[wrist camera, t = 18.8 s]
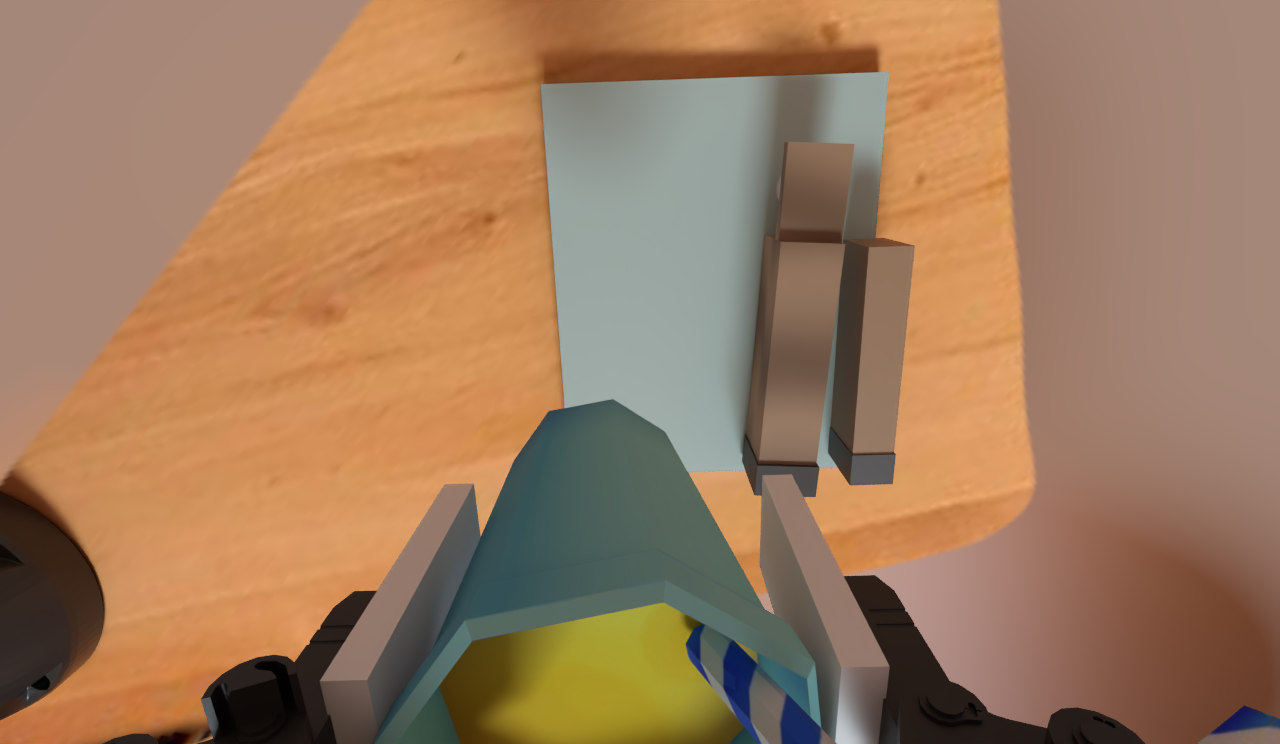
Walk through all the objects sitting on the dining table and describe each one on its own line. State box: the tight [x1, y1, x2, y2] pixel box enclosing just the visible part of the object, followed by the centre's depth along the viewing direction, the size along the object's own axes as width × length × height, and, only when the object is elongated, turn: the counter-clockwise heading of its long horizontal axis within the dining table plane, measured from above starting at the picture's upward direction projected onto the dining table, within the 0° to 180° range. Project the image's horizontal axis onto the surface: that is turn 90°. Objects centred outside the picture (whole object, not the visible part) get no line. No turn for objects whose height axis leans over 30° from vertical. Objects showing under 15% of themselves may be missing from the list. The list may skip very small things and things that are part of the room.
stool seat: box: [541, 72, 915, 485], centre depth 30 cm, size 16×20×5 cm
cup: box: [372, 399, 1280, 744], centre depth 13 cm, size 14×8×15 cm, turn 122°
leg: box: [742, 142, 855, 497], centre depth 29 cm, size 16×3×4 cm, turn 178°
